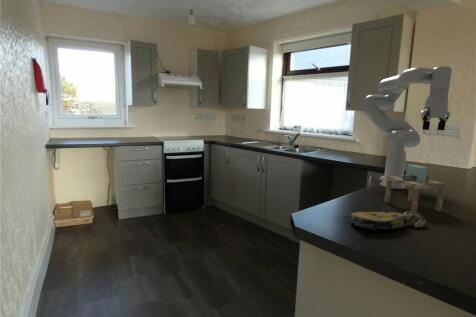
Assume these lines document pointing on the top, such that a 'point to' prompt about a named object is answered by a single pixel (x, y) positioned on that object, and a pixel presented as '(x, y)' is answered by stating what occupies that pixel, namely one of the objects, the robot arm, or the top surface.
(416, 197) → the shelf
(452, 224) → the top surface
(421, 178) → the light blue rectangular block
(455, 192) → the top surface
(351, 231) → the top surface
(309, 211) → the top surface
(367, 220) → the pulley block
